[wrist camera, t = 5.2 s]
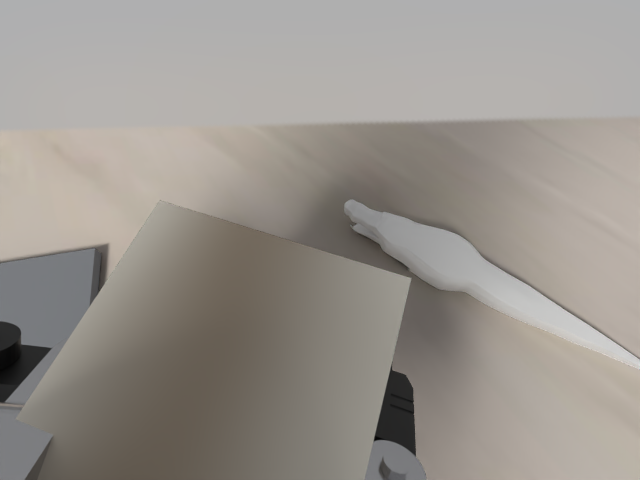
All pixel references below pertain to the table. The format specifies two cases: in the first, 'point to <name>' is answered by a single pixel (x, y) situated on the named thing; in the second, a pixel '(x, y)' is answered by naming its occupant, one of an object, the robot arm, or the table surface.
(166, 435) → the cream and brown block
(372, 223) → the white tapered spike part
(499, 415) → the table surface
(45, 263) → the charcoal mat
